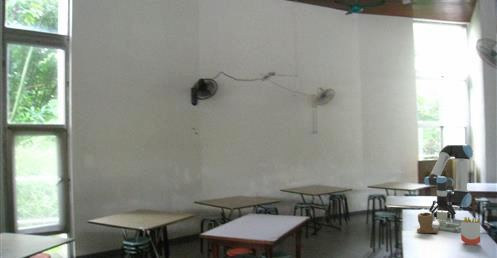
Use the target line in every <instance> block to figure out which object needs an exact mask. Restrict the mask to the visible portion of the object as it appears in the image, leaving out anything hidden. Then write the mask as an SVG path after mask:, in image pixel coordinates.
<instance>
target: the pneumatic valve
mask: <svg viewBox="0 0 497 258" xmlns="http://www.w3.org/2000/svg"><path fill="white" fill-rule="evenodd" d="M434 217H435V220H439V221H438V224H439V225H440V226H442V225H444V224H447V221H449V220H450V213H449V212H448V211H443V210H442V211H437V210H435V211H434Z"/></svg>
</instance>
